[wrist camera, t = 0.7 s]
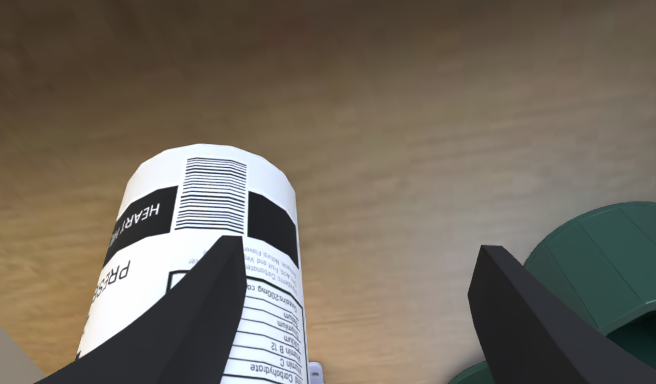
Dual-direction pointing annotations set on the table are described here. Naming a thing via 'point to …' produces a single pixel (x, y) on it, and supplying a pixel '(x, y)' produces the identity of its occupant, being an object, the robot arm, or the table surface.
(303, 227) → the table surface
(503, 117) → the table surface
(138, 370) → the robot arm
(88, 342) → the supplement can
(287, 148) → the table surface
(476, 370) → the pot lid
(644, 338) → the green pot
